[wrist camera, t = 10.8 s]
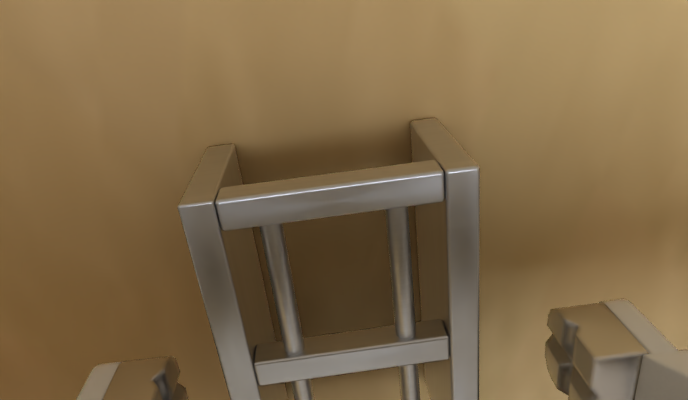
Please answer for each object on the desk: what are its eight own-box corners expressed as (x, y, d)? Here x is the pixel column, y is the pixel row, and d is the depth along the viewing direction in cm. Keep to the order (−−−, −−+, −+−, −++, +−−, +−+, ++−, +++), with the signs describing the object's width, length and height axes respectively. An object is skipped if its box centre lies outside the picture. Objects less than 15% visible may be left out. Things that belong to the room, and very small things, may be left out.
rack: (445, 377, 14) (480, 474, 12) (266, 402, 14) (259, 506, 11) (436, 116, 11) (481, 165, 8) (206, 146, 11) (176, 205, 8)
